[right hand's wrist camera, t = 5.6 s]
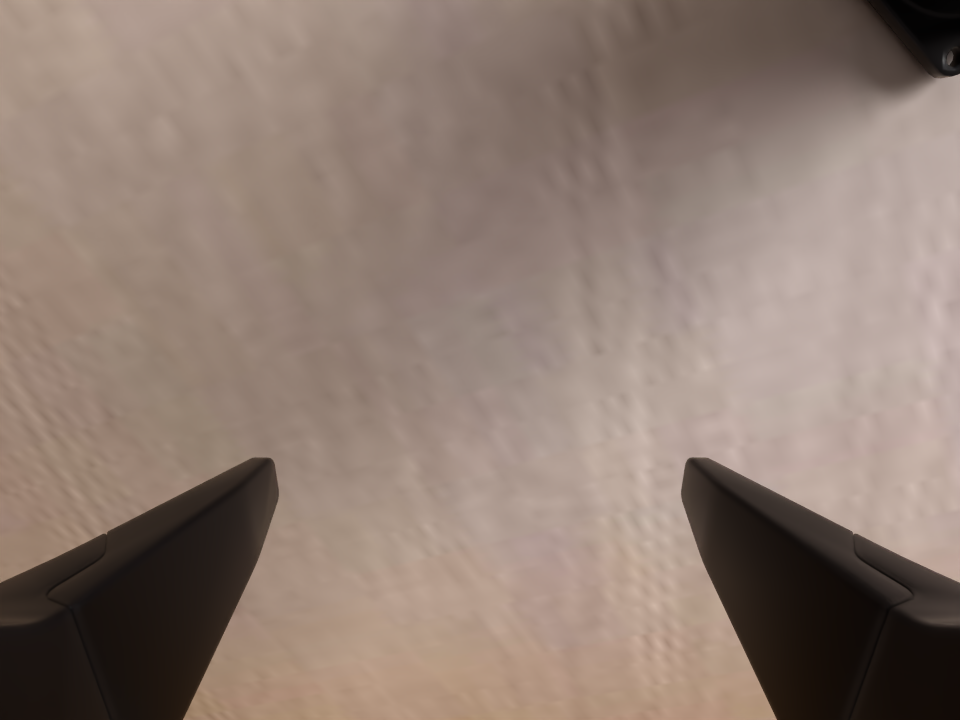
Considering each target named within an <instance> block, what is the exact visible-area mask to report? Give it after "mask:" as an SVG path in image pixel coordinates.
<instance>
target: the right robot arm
mask: <svg viewBox="0 0 960 720" xmlns="http://www.w3.org/2000/svg"><path fill="white" fill-rule="evenodd" d="M868 1H869V2H870V4H871V5H872V6H873V7H874V8H875V10H876V11H877V12H878V13H879V14H880V16H881V17H882V18H883V19H884V20H885V22H886V23H887V24H888V25H889V26H890V28H891V29H892V30H893V31H894V32H895V34H896V35H897V36H898V37H899V38H900V40H901V41H902V42H903V43H904V44H905V46H906V47H907V48H908V49H909V50H910V51H911V53H912V54H913V55H914V56H915V57H916V59H917V60H918V61H919V62H920V63H921V65H922V66H923V67H924V68H925V69H926V71H927V72H928V73H929V74H930V75H931V76H933V77H934V78H945V77H951V76H955V75H958V74H960V0H868ZM950 50H951V51H952V52H953V55H954V56H953V61H952V62H951V64H950V65H948V64H947V61H946V58H947V54H948V53H949V51H950ZM278 497H279V489H278V483H277V476H276V470H275V464H274V462H273V460H272V459H271V458H251V459H249V460H247V461H245V462H243V463H241V464H239V465H237V466H235V467H233V468H231V469H230V470H228V471H226V472H224V473H222V474H220V475H218V476H216V477H214V478H212V479H210V480H208V481H206V482H204V483H202V484H200V485H198V486H196V487H194V488H192V489H190V490H188V491H186V492H184V493H183V494H181V495H179V496H177V497H175V498H173V499H171V500H169V501H167V502H165V503H163V504H161V505H159V506H157V507H155V508H153V509H151V510H149V511H147V512H145V513H143V514H141V515H139V516H137V517H136V518H134V519H132V520H130V521H128V522H126V523H124V524H122V525H120V526H118V527H116V528H114V529H112V530H110V531H108V532H107V535H106V534H102V535H100V536H98V537H96V538H94V539H92V540H90V541H88V542H86V543H84V544H82V545H80V546H78V547H76V548H74V549H72V550H70V551H68V552H66V553H64V554H62V555H60V556H58V557H56V558H54V559H52V560H49V561H47V562H45V563H43V564H41V565H39V566H36V567H34V568H32V569H30V570H28V571H26V572H23V573H21V574H19V575H17V576H14V577H12V578H10V579H8V580H6V581H3V582H1V583H0V720H183V718H184V716H185V714H186V712H187V710H188V708H189V706H190V704H191V701H192V699H193V697H194V695H195V693H196V691H197V689H198V687H199V685H200V682H201V680H202V678H203V676H204V674H205V672H206V670H207V668H208V665H209V663H210V661H211V659H212V657H213V655H214V653H215V651H216V648H217V646H218V644H219V642H220V640H221V638H222V636H223V634H224V631H225V629H226V627H227V625H228V623H229V621H230V619H231V617H232V615H233V612H234V610H235V608H236V606H237V604H238V602H239V600H240V598H241V595H242V593H243V591H244V589H245V587H246V585H247V583H248V581H249V578H250V576H251V574H252V572H253V570H254V568H255V565H256V563H257V561H258V558H259V555H260V553H261V550H262V547H263V544H264V541H265V538H266V535H267V532H268V529H269V526H270V523H271V520H272V517H273V514H274V511H275V508H276V505H277V502H278ZM681 497H682V502H683V505H684V508H685V511H686V514H687V517H688V520H689V523H690V526H691V529H692V532H693V535H694V538H695V541H696V544H697V547H698V550H699V553H700V555H701V558H702V561H703V563H704V565H705V568H706V570H707V572H708V574H709V576H710V578H711V581H712V583H713V585H714V587H715V589H716V591H717V593H718V595H719V598H720V600H721V602H722V604H723V606H724V608H725V610H726V612H727V615H728V617H729V619H730V621H731V623H732V625H733V627H734V629H735V631H736V634H737V636H738V638H739V640H740V642H741V644H742V646H743V648H744V651H745V653H746V655H747V657H748V659H749V661H750V663H751V665H752V668H753V670H754V672H755V674H756V676H757V678H758V680H759V682H760V685H761V687H762V689H763V691H764V693H765V695H766V697H767V699H768V702H769V704H770V706H771V708H772V710H773V712H774V714H775V716H776V718H777V720H960V583H959V582H957V581H954V580H952V579H950V578H948V577H946V576H943V575H941V574H939V573H937V572H934V571H932V570H930V569H928V568H926V567H924V566H921V565H919V564H917V563H915V562H913V561H911V560H908V559H906V558H904V557H902V556H900V555H898V554H896V553H894V552H892V551H890V550H888V549H886V548H884V547H882V546H880V545H878V544H876V543H874V542H872V541H870V540H868V539H866V538H864V537H862V536H860V535H858V534H854V535H853V532H852V531H850V530H848V529H846V528H844V527H842V526H840V525H838V524H836V523H834V522H832V521H830V520H828V519H826V518H824V517H823V516H821V515H819V514H817V513H815V512H813V511H811V510H809V509H807V508H805V507H803V506H801V505H799V504H797V503H795V502H793V501H791V500H789V499H787V498H785V497H783V496H781V495H779V494H777V493H776V492H774V491H772V490H770V489H768V488H766V487H764V486H762V485H760V484H758V483H756V482H754V481H752V480H750V479H748V478H746V477H744V476H742V475H740V474H738V473H736V472H734V471H732V470H730V469H729V468H727V467H725V466H723V465H721V464H719V463H717V462H715V461H713V460H711V459H709V458H689V459H688V460H687V462H686V464H685V470H684V476H683V483H682V489H681Z"/></svg>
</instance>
